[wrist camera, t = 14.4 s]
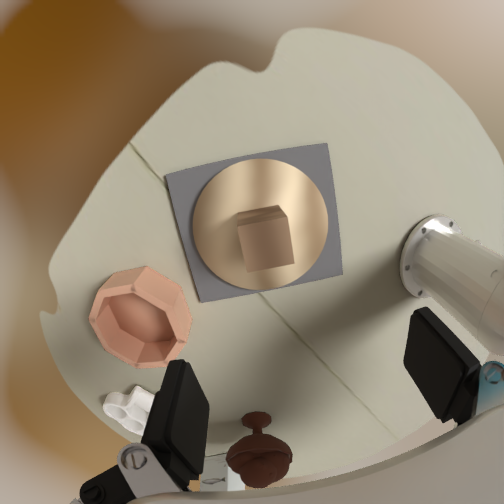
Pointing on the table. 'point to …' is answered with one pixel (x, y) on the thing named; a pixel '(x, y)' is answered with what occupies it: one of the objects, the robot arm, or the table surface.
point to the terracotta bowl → (141, 317)
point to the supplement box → (219, 475)
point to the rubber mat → (196, 179)
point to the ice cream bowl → (259, 454)
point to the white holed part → (130, 408)
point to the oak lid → (260, 224)
